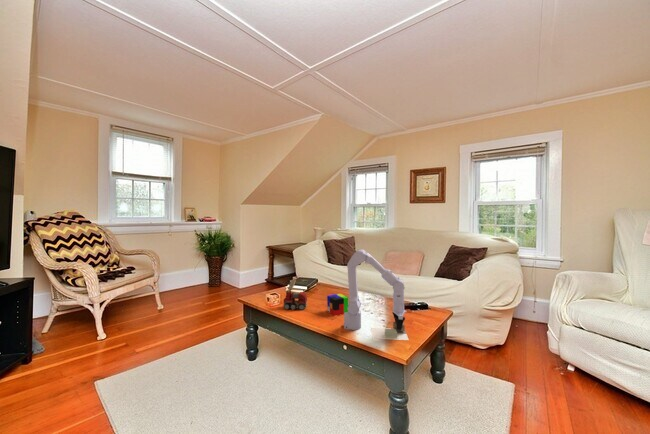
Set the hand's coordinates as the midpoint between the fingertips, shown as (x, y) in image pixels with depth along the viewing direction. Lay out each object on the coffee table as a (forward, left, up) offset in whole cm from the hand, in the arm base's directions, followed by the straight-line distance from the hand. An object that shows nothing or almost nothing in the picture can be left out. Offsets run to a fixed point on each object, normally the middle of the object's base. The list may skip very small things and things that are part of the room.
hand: (398, 327), depth 146 cm
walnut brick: (0, 0, -1) cm, 1 cm away
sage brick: (-5, -7, -2) cm, 8 cm away
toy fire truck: (-64, +34, -3) cm, 73 cm away
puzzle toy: (-34, +28, -3) cm, 45 cm away
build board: (-5, -4, -3) cm, 7 cm away
